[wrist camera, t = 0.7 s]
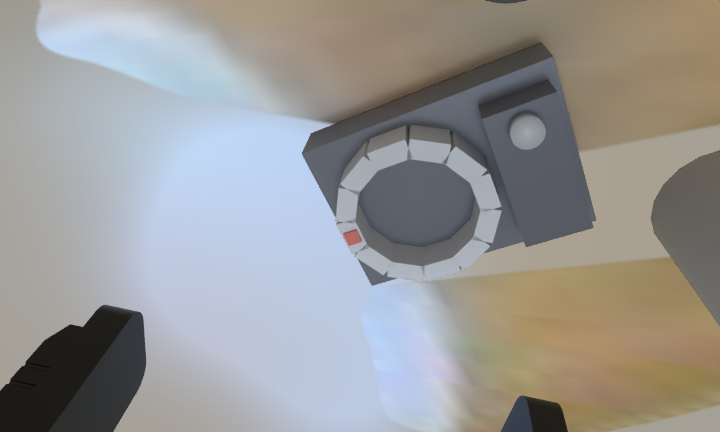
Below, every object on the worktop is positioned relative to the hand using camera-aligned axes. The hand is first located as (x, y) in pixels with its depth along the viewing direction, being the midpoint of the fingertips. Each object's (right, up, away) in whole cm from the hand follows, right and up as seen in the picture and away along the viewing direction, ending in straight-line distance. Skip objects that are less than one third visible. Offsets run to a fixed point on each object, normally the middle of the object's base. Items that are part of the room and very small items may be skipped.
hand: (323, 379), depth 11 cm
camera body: (+6, +7, +21) cm, 23 cm away
